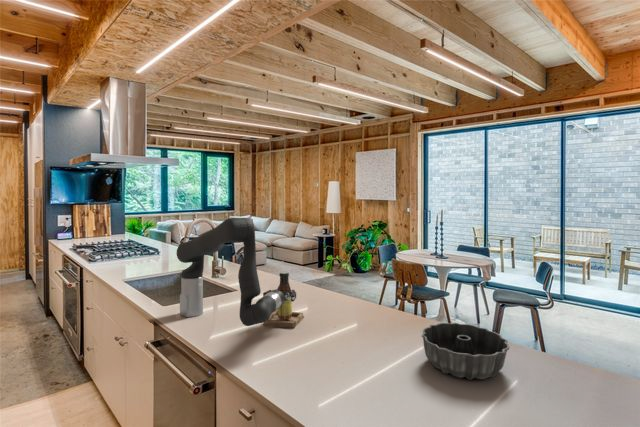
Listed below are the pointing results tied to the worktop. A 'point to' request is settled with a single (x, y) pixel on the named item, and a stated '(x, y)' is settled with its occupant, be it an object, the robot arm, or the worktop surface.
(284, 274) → the sauce bottle
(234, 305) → the worktop surface
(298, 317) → the dock
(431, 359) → the bundt pan
